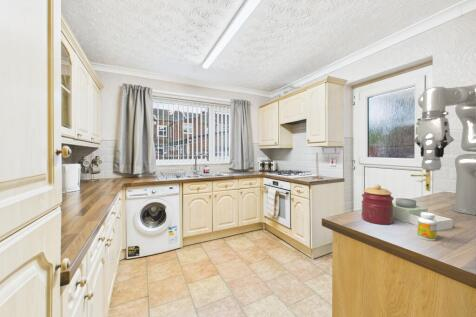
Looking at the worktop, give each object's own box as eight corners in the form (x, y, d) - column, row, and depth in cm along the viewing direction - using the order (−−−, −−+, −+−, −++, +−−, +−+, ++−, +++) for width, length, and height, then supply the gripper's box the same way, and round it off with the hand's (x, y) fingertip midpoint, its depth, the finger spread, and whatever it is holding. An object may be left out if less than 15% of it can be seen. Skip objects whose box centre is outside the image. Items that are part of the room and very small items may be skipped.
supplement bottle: (413, 235, 84) (414, 211, 84) (426, 234, 85) (427, 211, 84) (427, 241, 79) (428, 216, 78) (440, 240, 79) (441, 215, 79)
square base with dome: (402, 213, 112) (402, 196, 112) (453, 228, 91) (454, 208, 91) (384, 215, 109) (385, 198, 109) (433, 231, 88) (434, 210, 88)
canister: (375, 226, 94) (376, 187, 93) (355, 216, 107) (356, 182, 106) (400, 224, 96) (401, 186, 95) (377, 215, 109) (378, 181, 108)
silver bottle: (445, 171, 90) (447, 125, 89) (427, 171, 91) (428, 125, 90) (434, 170, 96) (436, 126, 95) (417, 169, 98) (419, 127, 97)
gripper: (464, 113, 85) (461, 157, 86) (418, 119, 102) (417, 156, 103) (451, 112, 83) (449, 157, 84) (406, 118, 100) (405, 156, 101)
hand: (431, 156), depth 93 cm, fingers closed on silver bottle, 5 cm apart
